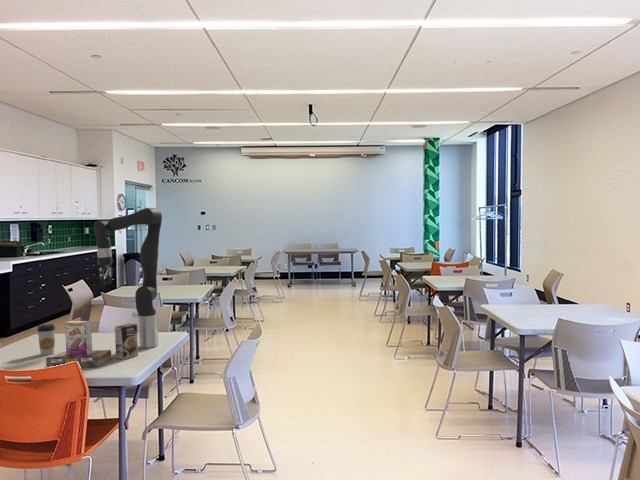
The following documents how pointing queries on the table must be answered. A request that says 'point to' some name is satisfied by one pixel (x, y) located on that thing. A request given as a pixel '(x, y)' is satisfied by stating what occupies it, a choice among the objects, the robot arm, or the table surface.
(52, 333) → the coffee cup
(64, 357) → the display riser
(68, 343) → the candy bar box
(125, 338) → the coffee box
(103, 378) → the table surface
